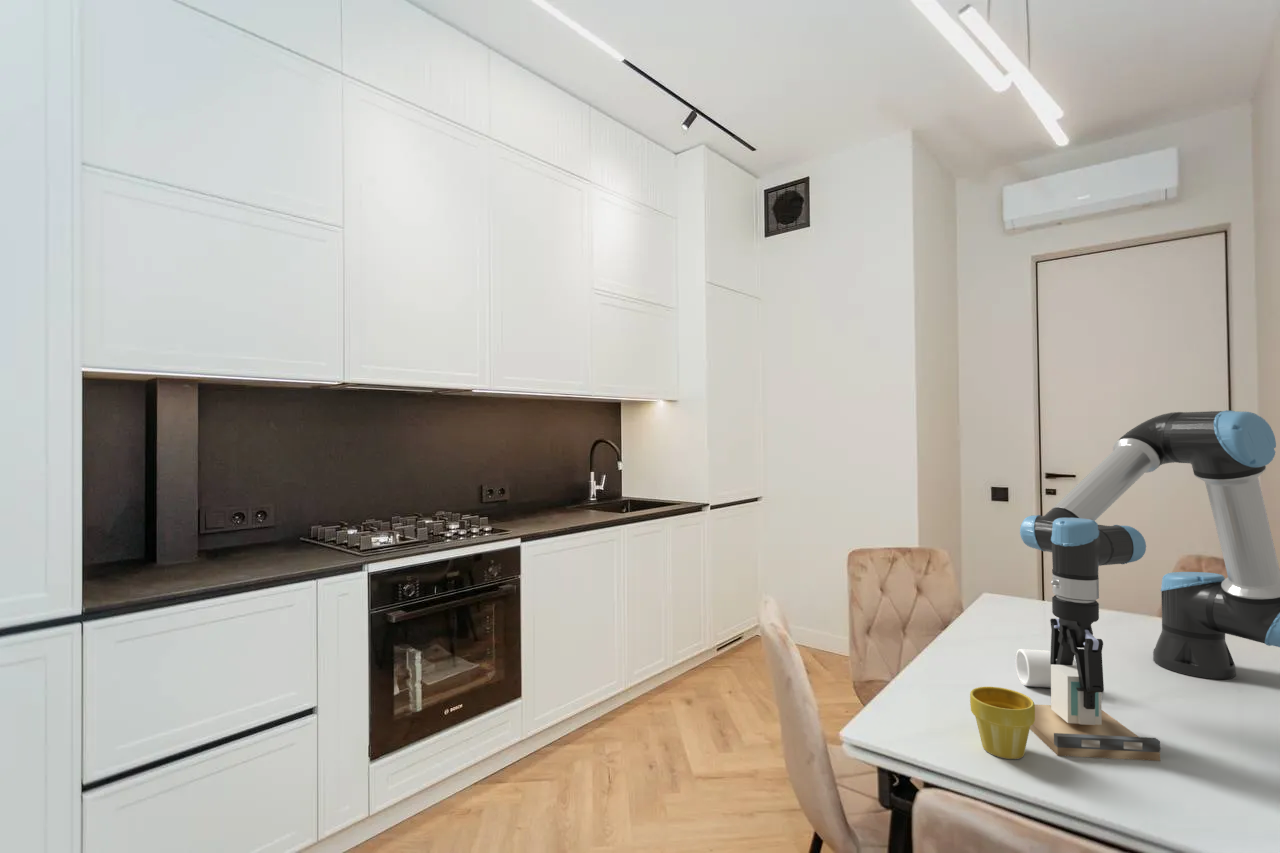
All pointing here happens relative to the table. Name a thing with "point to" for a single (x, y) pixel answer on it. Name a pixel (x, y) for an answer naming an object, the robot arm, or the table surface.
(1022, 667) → the mug
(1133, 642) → the table surface
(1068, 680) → the carton
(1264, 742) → the table surface
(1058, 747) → the shelf board
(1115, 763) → the table surface
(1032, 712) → the plant pot
